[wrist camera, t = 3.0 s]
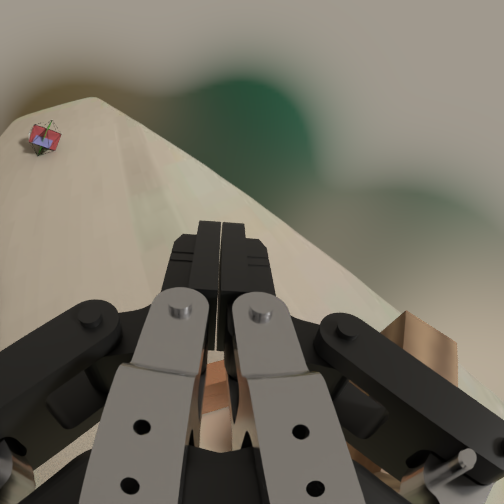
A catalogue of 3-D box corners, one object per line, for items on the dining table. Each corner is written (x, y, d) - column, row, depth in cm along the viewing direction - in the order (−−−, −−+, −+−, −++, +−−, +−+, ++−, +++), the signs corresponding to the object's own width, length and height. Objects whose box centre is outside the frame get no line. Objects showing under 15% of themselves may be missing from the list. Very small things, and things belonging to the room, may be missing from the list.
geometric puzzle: (70, 134, 52) (50, 107, 45) (64, 149, 48) (41, 121, 41) (47, 151, 52) (27, 127, 46) (40, 168, 48) (17, 142, 42)
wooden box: (300, 477, 27) (366, 467, 18) (344, 349, 41) (396, 304, 33) (374, 499, 26) (447, 487, 17) (401, 379, 40) (456, 342, 32)
